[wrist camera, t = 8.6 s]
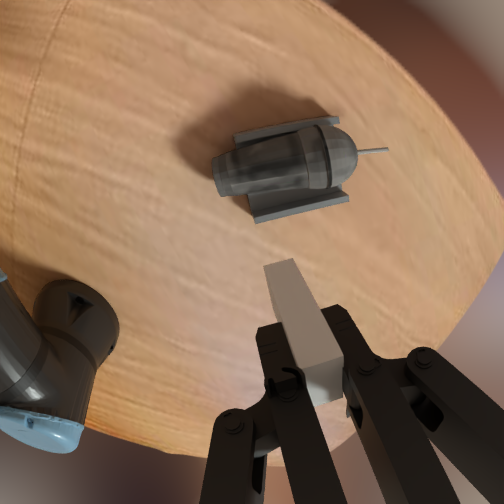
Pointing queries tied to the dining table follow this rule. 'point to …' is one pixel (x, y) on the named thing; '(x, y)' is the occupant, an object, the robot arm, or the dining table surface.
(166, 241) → the dining table surface
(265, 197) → the cradle
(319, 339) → the robot arm
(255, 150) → the beverage cup
